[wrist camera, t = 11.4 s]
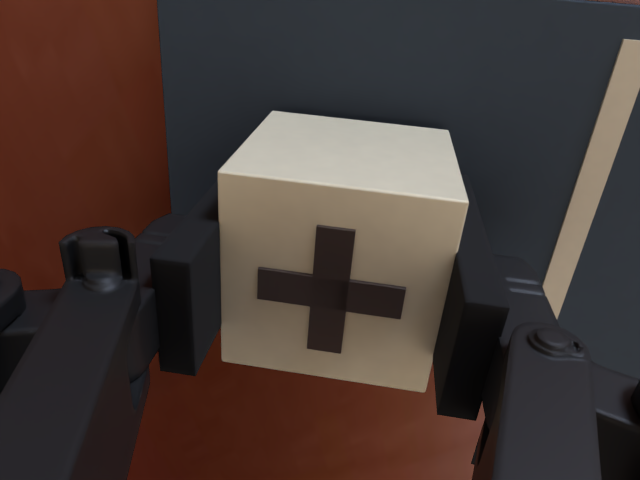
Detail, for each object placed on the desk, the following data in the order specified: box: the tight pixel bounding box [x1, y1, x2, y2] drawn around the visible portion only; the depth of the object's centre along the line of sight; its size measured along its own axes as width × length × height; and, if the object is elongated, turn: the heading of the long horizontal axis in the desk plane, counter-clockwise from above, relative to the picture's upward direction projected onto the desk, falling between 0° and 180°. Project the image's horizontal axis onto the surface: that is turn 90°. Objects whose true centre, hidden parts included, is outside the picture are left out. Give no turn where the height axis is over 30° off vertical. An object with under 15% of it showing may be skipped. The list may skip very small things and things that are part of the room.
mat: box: [157, 0, 640, 379], centre depth 16 cm, size 26×12×1 cm, turn 85°
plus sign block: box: [218, 111, 469, 392], centre depth 13 cm, size 5×5×5 cm
